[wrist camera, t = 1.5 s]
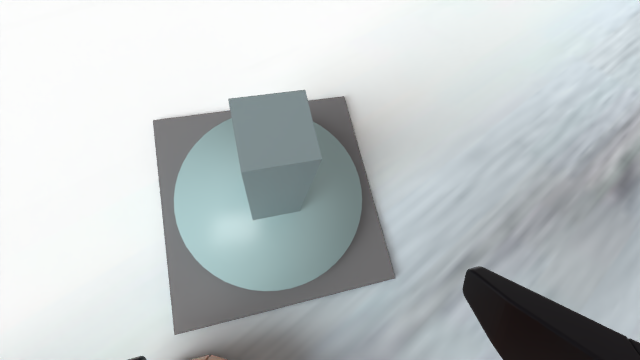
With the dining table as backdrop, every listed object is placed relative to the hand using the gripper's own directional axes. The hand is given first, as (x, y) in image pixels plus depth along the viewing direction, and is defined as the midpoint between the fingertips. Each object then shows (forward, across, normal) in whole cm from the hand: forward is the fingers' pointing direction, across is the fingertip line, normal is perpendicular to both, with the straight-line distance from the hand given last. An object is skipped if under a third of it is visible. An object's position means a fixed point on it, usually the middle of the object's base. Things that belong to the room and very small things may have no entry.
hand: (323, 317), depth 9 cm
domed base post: (+13, 0, +4) cm, 14 cm away
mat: (+14, 0, +4) cm, 14 cm away
